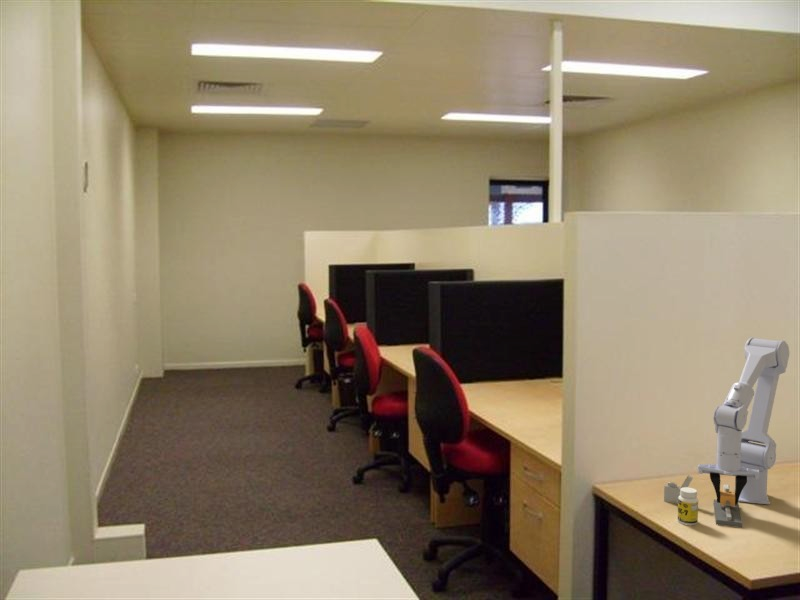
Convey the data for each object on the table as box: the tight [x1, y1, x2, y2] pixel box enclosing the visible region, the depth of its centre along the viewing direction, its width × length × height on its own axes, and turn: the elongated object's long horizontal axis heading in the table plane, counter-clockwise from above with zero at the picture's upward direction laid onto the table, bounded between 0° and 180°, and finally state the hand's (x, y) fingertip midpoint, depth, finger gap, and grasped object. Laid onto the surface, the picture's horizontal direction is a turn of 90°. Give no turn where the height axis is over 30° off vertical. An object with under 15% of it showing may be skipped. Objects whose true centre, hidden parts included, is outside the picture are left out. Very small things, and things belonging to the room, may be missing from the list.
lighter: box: [663, 474, 694, 505], centre depth 201 cm, size 7×2×8 cm, turn 55°
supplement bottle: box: [677, 486, 699, 526], centre depth 188 cm, size 5×5×8 cm
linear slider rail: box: [713, 484, 743, 528], centre depth 192 cm, size 15×6×6 cm, turn 159°
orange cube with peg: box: [720, 490, 735, 506], centre depth 194 cm, size 5×4×2 cm, turn 159°
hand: (727, 502), depth 194 cm, fingers closed on orange cube with peg, 3 cm apart
